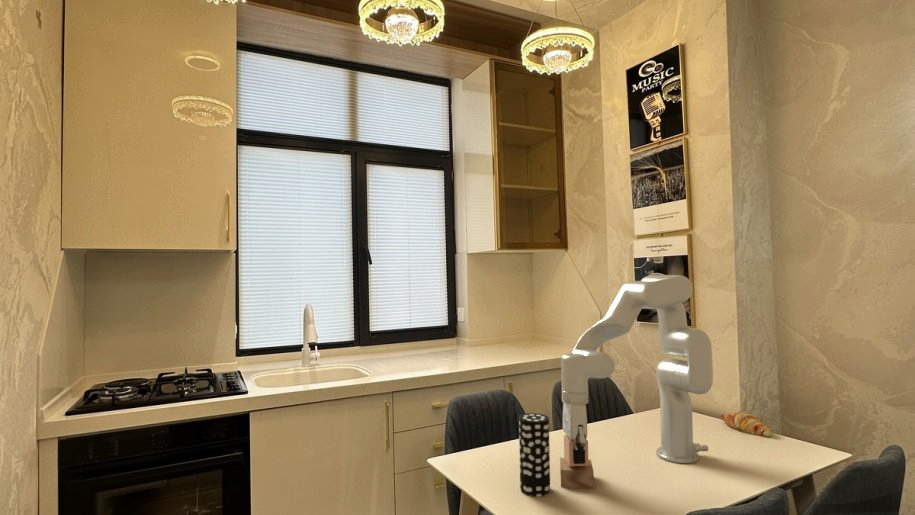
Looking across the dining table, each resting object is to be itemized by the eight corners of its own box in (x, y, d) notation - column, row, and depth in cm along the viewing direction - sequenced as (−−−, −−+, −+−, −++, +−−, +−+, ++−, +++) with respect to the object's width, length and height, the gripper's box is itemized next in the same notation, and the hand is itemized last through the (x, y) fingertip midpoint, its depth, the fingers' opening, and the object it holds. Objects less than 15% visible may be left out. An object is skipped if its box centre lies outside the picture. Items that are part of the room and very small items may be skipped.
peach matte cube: (564, 458, 143) (563, 435, 143) (582, 458, 143) (582, 434, 144) (569, 466, 138) (568, 441, 138) (588, 465, 138) (587, 441, 138)
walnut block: (591, 476, 144) (590, 459, 144) (593, 489, 135) (593, 471, 135) (560, 474, 145) (560, 457, 146) (560, 487, 137) (560, 469, 137)
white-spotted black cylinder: (517, 484, 139) (516, 413, 139) (545, 482, 139) (544, 412, 140) (523, 497, 130) (522, 422, 131) (553, 495, 131) (552, 421, 132)
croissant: (777, 447, 174) (784, 426, 176) (760, 437, 171) (767, 416, 173) (726, 428, 194) (733, 410, 196) (709, 419, 191) (716, 400, 193)
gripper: (555, 389, 149) (556, 448, 149) (570, 404, 132) (571, 471, 132) (579, 389, 150) (580, 448, 149) (597, 404, 133) (598, 470, 132)
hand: (576, 458), depth 140 cm, fingers closed on peach matte cube, 5 cm apart
